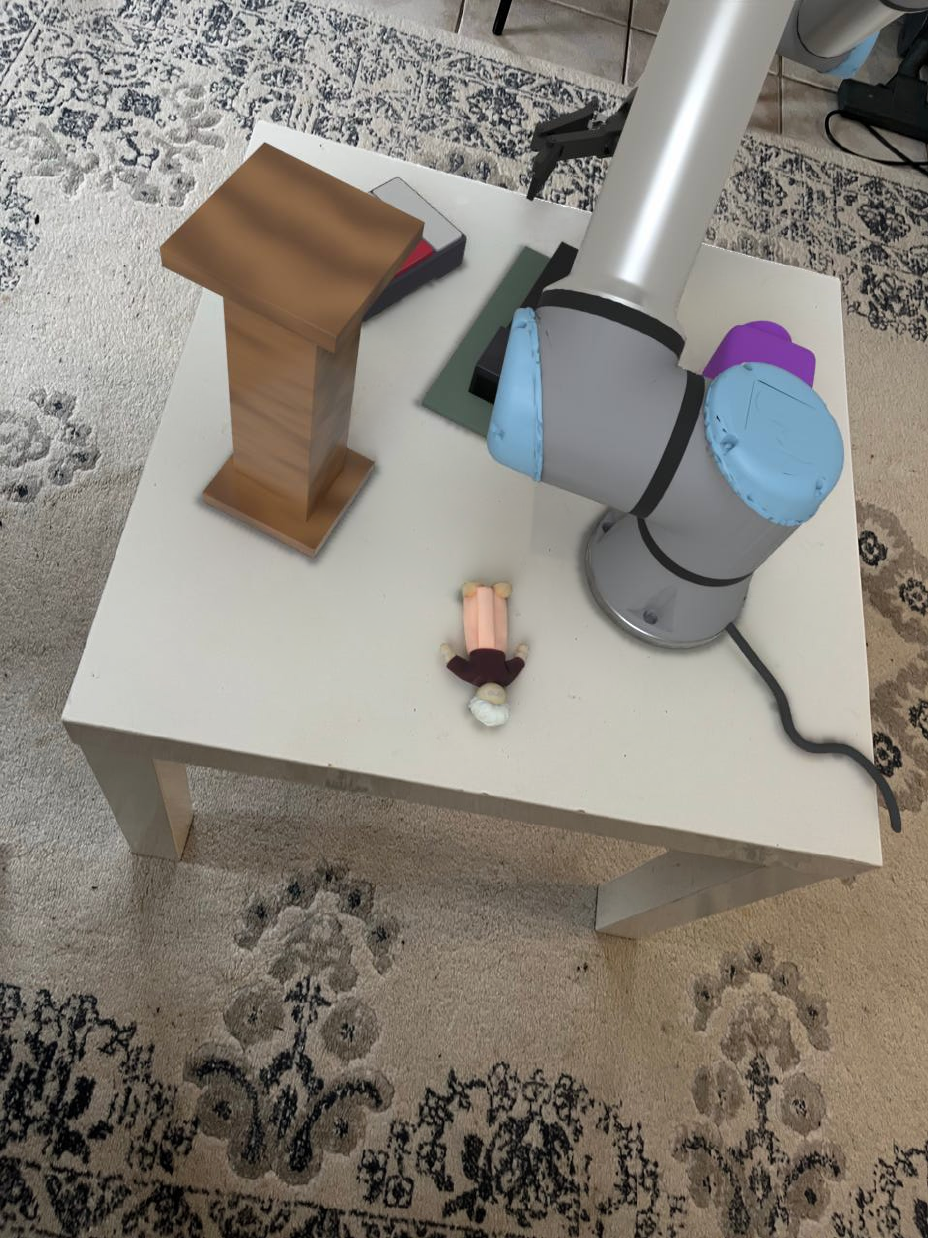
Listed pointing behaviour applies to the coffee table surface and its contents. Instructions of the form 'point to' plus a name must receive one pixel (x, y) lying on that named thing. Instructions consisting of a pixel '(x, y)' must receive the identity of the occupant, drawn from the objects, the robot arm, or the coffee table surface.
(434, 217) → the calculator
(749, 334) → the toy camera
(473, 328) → the mat
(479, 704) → the grandmother figurine
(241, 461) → the stand
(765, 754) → the coffee table surface
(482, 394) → the black square bar
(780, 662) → the coffee table surface
